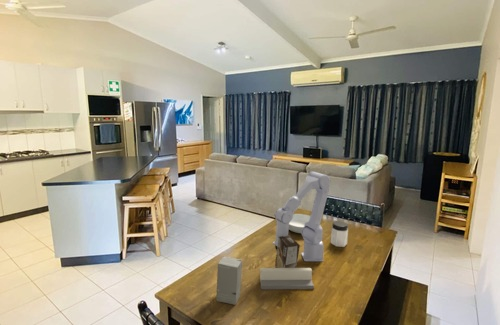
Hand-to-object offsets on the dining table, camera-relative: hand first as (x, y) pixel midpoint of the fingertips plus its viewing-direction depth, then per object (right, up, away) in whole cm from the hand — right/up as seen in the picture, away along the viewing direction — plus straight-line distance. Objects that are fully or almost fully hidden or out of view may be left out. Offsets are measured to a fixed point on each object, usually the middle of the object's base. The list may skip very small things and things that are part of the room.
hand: (280, 260), depth 128 cm
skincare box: (-23, -7, -22) cm, 32 cm away
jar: (+36, +1, +25) cm, 44 cm away
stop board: (+1, -5, -13) cm, 14 cm away
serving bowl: (+17, +4, +42) cm, 45 cm away
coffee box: (+1, -4, -5) cm, 6 cm away
